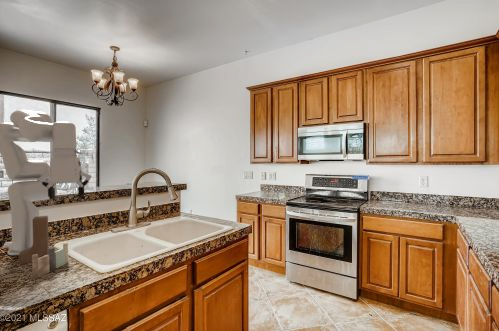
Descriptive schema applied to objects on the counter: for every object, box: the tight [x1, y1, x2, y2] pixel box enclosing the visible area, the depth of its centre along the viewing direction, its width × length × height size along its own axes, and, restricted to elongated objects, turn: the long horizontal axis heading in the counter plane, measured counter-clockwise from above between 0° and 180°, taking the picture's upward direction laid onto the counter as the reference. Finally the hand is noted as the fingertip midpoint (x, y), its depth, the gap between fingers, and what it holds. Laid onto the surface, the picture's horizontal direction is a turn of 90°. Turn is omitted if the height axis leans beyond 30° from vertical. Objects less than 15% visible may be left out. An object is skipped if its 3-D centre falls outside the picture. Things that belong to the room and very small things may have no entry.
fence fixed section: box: [31, 246, 56, 280], centre depth 93 cm, size 8×2×9 cm, turn 173°
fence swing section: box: [55, 242, 69, 269], centre depth 100 cm, size 6×2×8 cm, turn 173°
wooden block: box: [18, 215, 50, 265], centre depth 105 cm, size 9×4×18 cm, turn 122°
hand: (66, 197), depth 101 cm, fingers open, 9 cm apart
